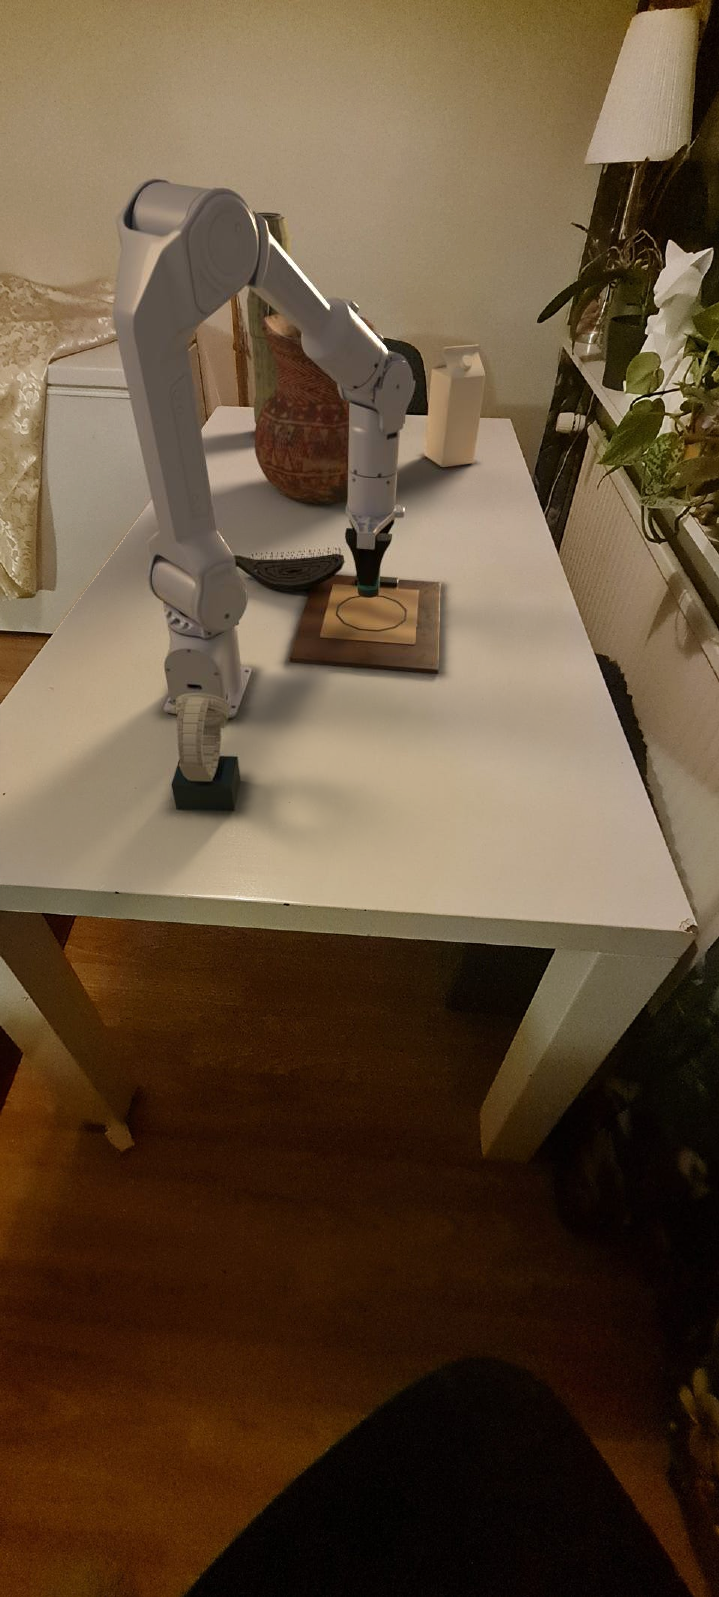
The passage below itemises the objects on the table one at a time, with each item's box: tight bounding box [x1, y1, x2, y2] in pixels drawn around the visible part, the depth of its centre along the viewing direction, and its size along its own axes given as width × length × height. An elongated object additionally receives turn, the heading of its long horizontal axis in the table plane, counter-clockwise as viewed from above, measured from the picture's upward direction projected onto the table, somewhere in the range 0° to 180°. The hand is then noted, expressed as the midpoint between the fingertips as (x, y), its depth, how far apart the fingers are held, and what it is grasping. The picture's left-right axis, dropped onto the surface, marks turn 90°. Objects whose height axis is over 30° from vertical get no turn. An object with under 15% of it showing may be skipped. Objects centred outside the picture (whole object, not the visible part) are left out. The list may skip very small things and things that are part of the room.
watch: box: [170, 693, 241, 812], centre depth 65 cm, size 6×8×11 cm
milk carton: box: [423, 344, 486, 468], centre depth 131 cm, size 7×7×19 cm
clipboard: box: [288, 574, 441, 674], centre depth 93 cm, size 22×18×1 cm
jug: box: [254, 314, 377, 505], centre depth 116 cm, size 22×21×25 cm
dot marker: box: [358, 569, 381, 598], centre depth 90 cm, size 3×3×7 cm
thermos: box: [246, 212, 292, 424], centre depth 132 cm, size 9×12×35 cm
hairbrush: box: [233, 547, 346, 592], centre depth 99 cm, size 8×4×25 cm
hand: (368, 578), depth 91 cm, fingers closed on dot marker, 3 cm apart
